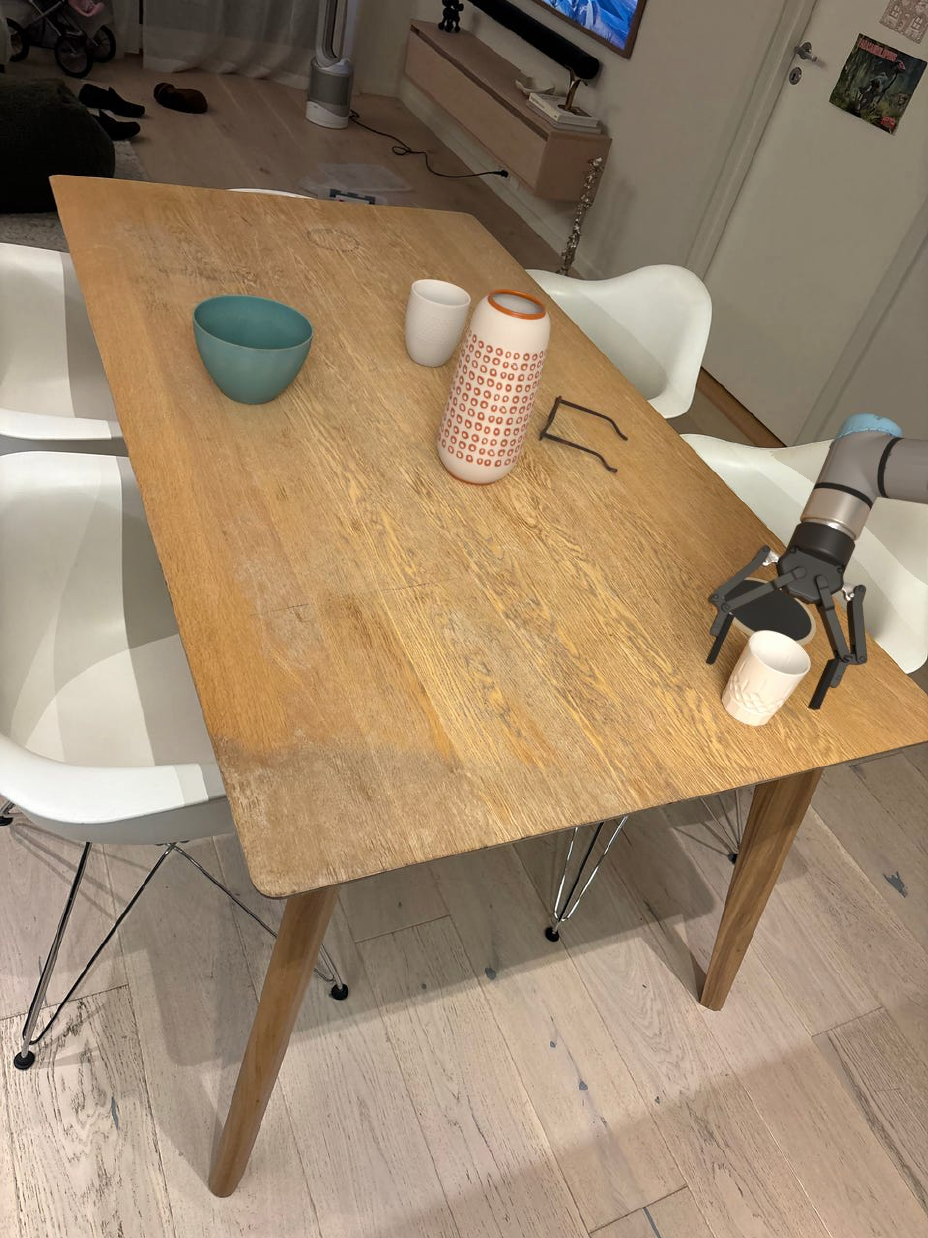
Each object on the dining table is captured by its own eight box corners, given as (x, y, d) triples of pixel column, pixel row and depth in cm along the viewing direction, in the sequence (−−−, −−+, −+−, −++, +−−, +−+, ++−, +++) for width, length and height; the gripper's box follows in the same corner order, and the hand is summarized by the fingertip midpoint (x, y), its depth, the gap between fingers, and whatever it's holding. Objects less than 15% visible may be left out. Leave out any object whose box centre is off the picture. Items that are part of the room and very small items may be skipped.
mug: (384, 334, 176) (396, 267, 168) (436, 336, 181) (451, 271, 172) (409, 372, 167) (423, 304, 158) (464, 374, 171) (480, 307, 163)
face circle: (832, 626, 137) (834, 623, 136) (782, 661, 128) (784, 658, 127) (750, 568, 144) (752, 565, 143) (698, 598, 134) (699, 595, 134)
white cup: (786, 719, 119) (823, 665, 112) (748, 738, 114) (784, 682, 108) (743, 678, 123) (776, 623, 116) (704, 694, 119) (736, 639, 112)
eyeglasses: (551, 411, 168) (558, 387, 165) (627, 438, 167) (637, 414, 164) (534, 447, 157) (543, 421, 154) (617, 475, 156) (627, 450, 153)
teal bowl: (310, 425, 145) (320, 354, 138) (190, 416, 140) (193, 341, 132) (299, 370, 158) (307, 302, 150) (188, 359, 152) (191, 287, 144)
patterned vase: (527, 476, 149) (580, 311, 131) (481, 504, 140) (531, 331, 122) (462, 438, 153) (505, 274, 135) (413, 463, 144) (453, 290, 126)
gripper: (911, 576, 118) (848, 728, 116) (728, 501, 121) (663, 647, 120) (935, 565, 110) (868, 727, 109) (739, 486, 114) (671, 641, 112)
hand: (760, 685), depth 114 cm, fingers open, 13 cm apart
